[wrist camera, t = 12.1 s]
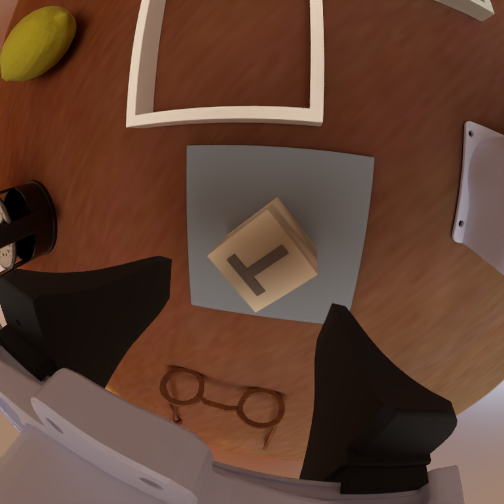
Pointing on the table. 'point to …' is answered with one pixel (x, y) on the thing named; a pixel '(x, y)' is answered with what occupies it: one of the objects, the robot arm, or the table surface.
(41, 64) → the lemon
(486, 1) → the bin
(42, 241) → the french press
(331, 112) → the table surface
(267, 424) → the glasses
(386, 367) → the robot arm
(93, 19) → the table surface
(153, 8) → the bin
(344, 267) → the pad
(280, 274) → the letter cube
